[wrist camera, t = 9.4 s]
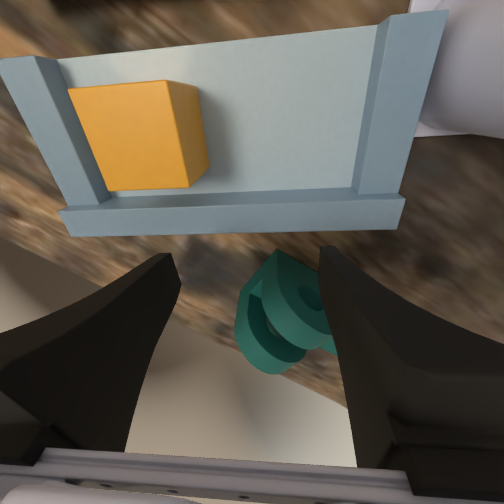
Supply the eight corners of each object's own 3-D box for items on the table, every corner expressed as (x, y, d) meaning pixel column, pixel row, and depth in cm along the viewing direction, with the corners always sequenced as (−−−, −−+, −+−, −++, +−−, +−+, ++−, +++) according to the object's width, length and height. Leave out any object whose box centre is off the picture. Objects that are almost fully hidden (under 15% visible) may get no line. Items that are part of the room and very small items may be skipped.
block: (197, 85, 13) (166, 79, 9) (210, 167, 16) (190, 188, 12) (123, 92, 14) (65, 88, 10) (146, 171, 16) (108, 192, 12)
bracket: (240, 290, 25) (229, 356, 19) (276, 248, 22) (278, 310, 16) (359, 353, 30) (384, 424, 23) (405, 325, 26) (448, 399, 20)
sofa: (401, 34, 14) (466, -1, 9) (366, 198, 19) (397, 229, 14) (58, 69, 16) (-30, 55, 11) (115, 208, 21) (71, 237, 16)
